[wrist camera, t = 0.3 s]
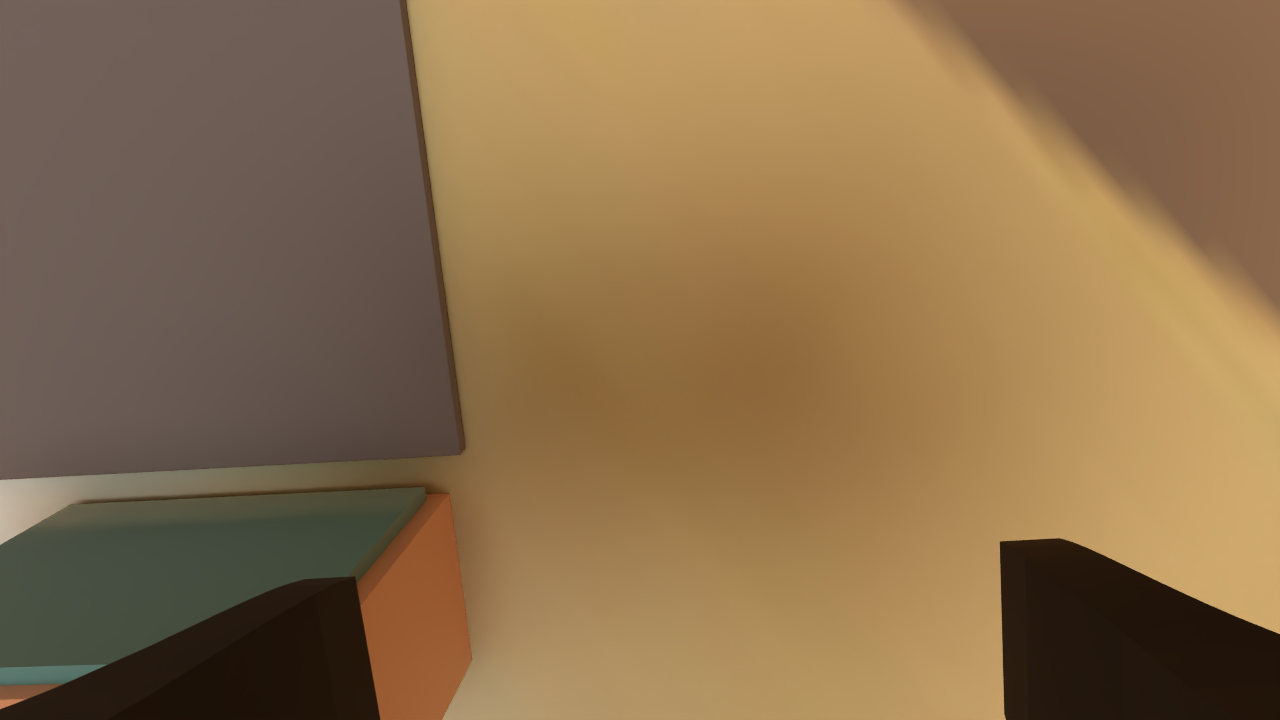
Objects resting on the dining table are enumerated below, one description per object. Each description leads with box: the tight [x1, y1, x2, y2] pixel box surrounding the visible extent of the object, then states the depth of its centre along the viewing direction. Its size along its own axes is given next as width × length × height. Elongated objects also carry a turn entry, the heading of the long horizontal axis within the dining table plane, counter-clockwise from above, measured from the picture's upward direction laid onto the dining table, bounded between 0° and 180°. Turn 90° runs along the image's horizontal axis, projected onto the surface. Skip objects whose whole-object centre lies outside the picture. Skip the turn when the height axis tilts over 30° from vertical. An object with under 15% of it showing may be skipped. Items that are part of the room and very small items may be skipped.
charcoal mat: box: [0, 0, 465, 480], centre depth 21 cm, size 10×12×1 cm
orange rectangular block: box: [0, 487, 472, 720], centre depth 19 cm, size 4×9×8 cm, turn 95°
